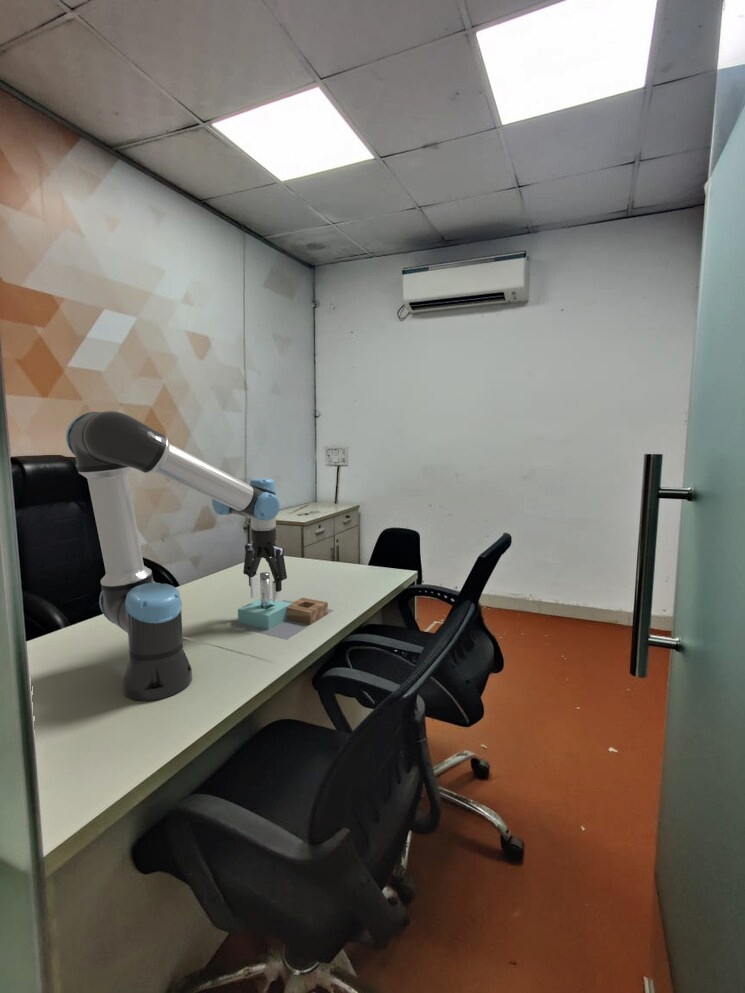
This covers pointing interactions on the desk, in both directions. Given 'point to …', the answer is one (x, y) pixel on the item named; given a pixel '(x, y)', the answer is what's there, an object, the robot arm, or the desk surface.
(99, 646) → the desk surface
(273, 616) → the socket
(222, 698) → the desk surface
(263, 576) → the pin
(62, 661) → the desk surface
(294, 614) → the block
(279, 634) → the mat
